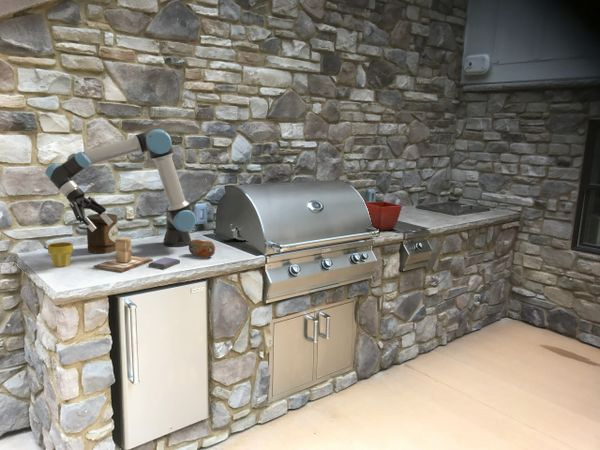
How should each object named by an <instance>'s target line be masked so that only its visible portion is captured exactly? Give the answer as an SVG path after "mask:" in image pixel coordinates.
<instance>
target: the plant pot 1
mask: <svg viewBox="0 0 600 450" xmlns="http://www.w3.org/2000/svg"><path fill="white" fill-rule="evenodd" d="M73 251H74V245H73V243H72V242H66V241H64V242H61V241H60V242H54V243H50V244H48V245H47V252H48V254H49V255H50V258H51V262H52V264H53V267H57V268H62V267H68V266H70V264H71V257H72V253H73Z"/></svg>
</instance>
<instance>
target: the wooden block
mask: <svg viewBox="0 0 600 450" xmlns="http://www.w3.org/2000/svg"><path fill="white" fill-rule="evenodd" d="M115 248H116V251H115V258H116V263H128V262H130V261H131V256H132V237H122V236H121V237H118V239H116V240H115Z"/></svg>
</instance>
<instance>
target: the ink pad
mask: <svg viewBox="0 0 600 450" xmlns="http://www.w3.org/2000/svg"><path fill="white" fill-rule="evenodd" d="M180 263H181V260H180V259H178V258H172V257H165V256H164V257H162V258H158V259H156V260H153V261H151V262H149V263H148V267H149V268H155V269H161V270H166V269H168V268H171V267H173V266H175V265H178V264H180Z"/></svg>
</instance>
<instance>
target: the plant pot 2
mask: <svg viewBox="0 0 600 450" xmlns="http://www.w3.org/2000/svg"><path fill="white" fill-rule="evenodd" d="M364 203H365V204H366V206H367V208H368V211H369V215H370V218H371V222H372V226H373V227H374V228H376V229H375V230H377V229H379V230H378V231H386V230H387V231H388V230H389V231H390V230H394V228H395V226H396V224H397V223H398V219H399V217H400V215H401V211H402V207H403V206H402V205H400V204H395V203H393V202H388V201H369V202H368V201H367V202H364ZM374 228H373V229H374Z"/></svg>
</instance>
